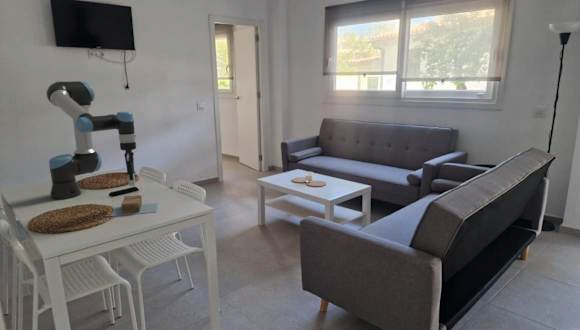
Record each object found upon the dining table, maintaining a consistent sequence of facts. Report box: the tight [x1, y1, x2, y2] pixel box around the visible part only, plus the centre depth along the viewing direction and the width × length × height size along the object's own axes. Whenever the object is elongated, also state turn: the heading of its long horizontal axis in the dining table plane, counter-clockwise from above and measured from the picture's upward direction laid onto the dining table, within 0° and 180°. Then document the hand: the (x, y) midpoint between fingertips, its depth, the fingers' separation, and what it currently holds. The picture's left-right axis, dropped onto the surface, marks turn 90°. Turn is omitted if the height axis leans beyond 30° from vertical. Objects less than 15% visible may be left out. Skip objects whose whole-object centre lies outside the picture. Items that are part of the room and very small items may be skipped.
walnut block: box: [120, 194, 143, 214], centre depth 187 cm, size 5×8×13 cm
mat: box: [111, 202, 158, 217], centre depth 186 cm, size 14×24×1 cm, turn 107°
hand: (132, 185), depth 193 cm, fingers closed
